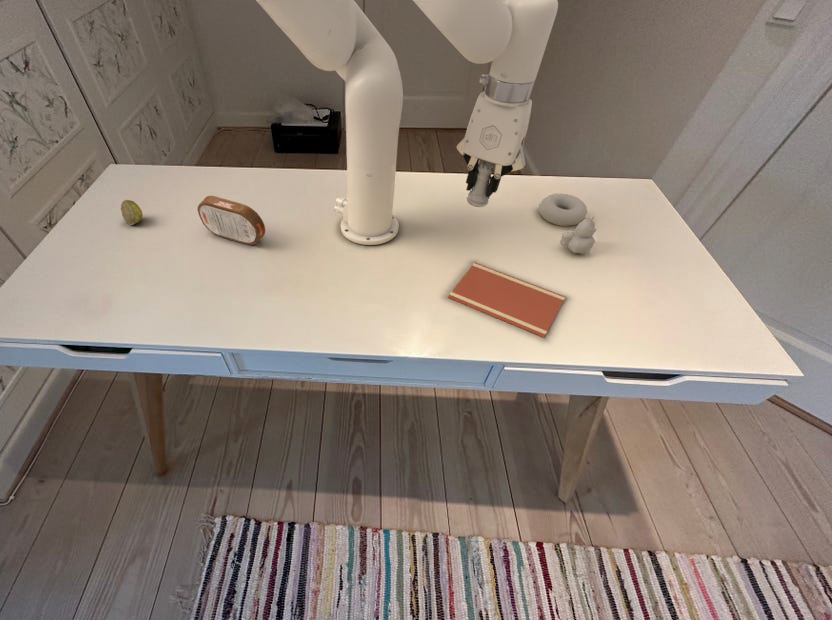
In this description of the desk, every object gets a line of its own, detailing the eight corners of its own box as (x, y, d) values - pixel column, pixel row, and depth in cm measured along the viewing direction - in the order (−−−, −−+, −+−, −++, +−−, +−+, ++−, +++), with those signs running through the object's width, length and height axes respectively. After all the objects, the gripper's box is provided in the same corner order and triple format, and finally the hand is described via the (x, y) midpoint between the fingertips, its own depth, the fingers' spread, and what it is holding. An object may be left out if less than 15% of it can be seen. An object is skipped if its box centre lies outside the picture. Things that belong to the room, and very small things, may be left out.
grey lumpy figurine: (592, 259, 85) (610, 224, 79) (558, 256, 85) (574, 221, 79) (586, 243, 88) (604, 208, 82) (554, 241, 89) (569, 206, 83)
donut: (588, 230, 91) (577, 204, 97) (595, 216, 89) (583, 191, 95) (540, 228, 92) (533, 202, 98) (546, 214, 89) (538, 189, 95)
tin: (269, 243, 89) (262, 206, 82) (260, 251, 87) (253, 214, 81) (210, 226, 93) (199, 190, 86) (202, 233, 91) (190, 197, 85)
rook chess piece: (463, 196, 88) (473, 158, 82) (484, 196, 89) (495, 158, 83) (469, 208, 86) (479, 169, 79) (490, 207, 86) (502, 169, 80)
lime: (142, 227, 93) (132, 207, 89) (120, 227, 93) (110, 206, 89) (149, 216, 95) (140, 195, 92) (128, 216, 96) (118, 195, 92)
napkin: (447, 297, 78) (448, 295, 78) (474, 263, 84) (474, 261, 84) (543, 338, 71) (544, 336, 71) (564, 298, 78) (565, 296, 77)
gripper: (454, 83, 72) (435, 186, 86) (550, 107, 66) (512, 212, 80) (472, 72, 76) (451, 171, 90) (564, 93, 70) (525, 196, 84)
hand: (480, 190), depth 85 cm, fingers closed on rook chess piece, 3 cm apart
